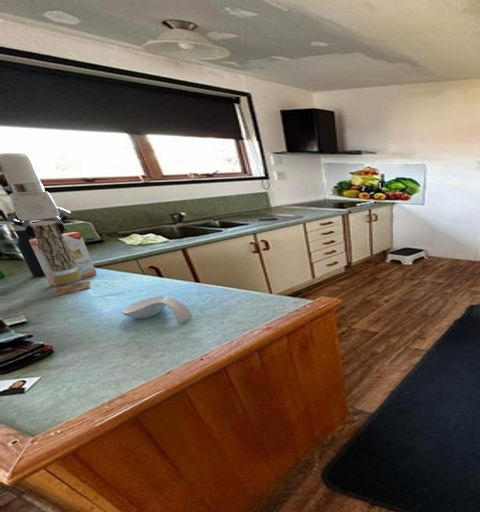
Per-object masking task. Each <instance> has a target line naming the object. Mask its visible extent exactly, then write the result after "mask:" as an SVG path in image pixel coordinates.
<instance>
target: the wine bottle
mask: <svg viewBox="0 0 480 512" xmlns="http://www.w3.org/2000/svg"><path fill="white" fill-rule="evenodd" d="M12 213H13V212H9V213H6V215H7V217H9V216H10V215H11V214H12ZM14 219H15V220H17V221H20V222H23V221H22V220H19V219H18V217H17V216H16V217H15V218H14ZM13 225H14V230H15V234H16V236H17V247H18V250H19V251H20V254H21V256H22V258H23V260H24V262H25V264H26V265H27V268H28V269H29V272H30V274H31V275H32V277H33V278H35V277H37V278H43V277H46V276H45V274H44V272H43V269H42V267H41V265H40V263H39V261H38V259H37V257H36V255H35V252H34V250H33V248H32V246H31V244H30V242H29V240H31V239H36V237H35V238H32V237H31V236H28V234H27V232H26V229H25V228H23V227H21V226H19V225H16V224H14V223H13ZM42 276H43V277H42Z"/></svg>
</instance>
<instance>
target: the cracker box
mask: <svg viewBox="0 0 480 512" xmlns="http://www.w3.org/2000/svg"><path fill="white" fill-rule="evenodd" d="M62 235H63V237H64V239H65V241H66V244H67V246H68V248H69V251H70V253H71V255H72V257H73V260H74V262H75V264H76V266H77V269H78V271H79V273H80V276H81V279H80V280H84V279H87V278H90V277H94V276H97V275H98V273H97V271H96V268H95V266H94V263H93V261H92V259H91V256H90V254H89V251H88V248H87V246H86V243H85V241H84V238H83V235H82V233H81V232H76V231H71V232H66V233H64V234H62ZM29 242H30V244H31V246H32V248H33V250H34V252H35V255H36V257H37V259H38V261H39V263H40V265H41V267H42V269H43V272H44V274H45V276H44V277H45V278H46V280H47V282H48V284H49V286H53V287H60V286H63V285H65V284H58V283H57V281H56V279H55V277H54V275H53V273H52V271H51V269H50V267H49V264H48V262H47V260H46V258H45V256H44V254H43V252H42V250H41V248H40V246H39V244H38V241H37V239H36V238H35V239H31V240H29ZM80 280H79V281H80Z"/></svg>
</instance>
